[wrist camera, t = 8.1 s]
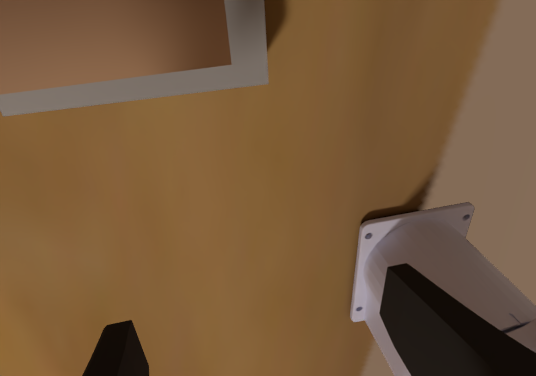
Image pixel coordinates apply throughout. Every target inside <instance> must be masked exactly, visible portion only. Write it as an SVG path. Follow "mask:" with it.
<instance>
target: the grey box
mask: <svg viewBox="0 0 536 376" xmlns="http://www.w3.org/2000/svg"><path fill="white" fill-rule="evenodd" d="M224 3H225V11H226V20H227V28H228V37H229V45H230V54H231V63H232V65H225V66H218V67H210V68H202V69H195V70H187V71H179V72H171V73H164V74H156V75H148V76H140V77H133V78H125V79H117V80H109V81H102V82H94V83H86V84H78V85H71V86H63V87H55V88H48V89H40V90H32V91H24V92H17V93H9V94H1V95H0V111H1V113H2V115H3V116H11V115H19V114H27V113H35V112H43V111H52V110H60V109H68V108H76V107H84V106H92V105H100V104H109V103H117V102H125V101H133V100H141V99H149V98H157V97H166V96H174V95H182V94H190V93H198V92H206V91H214V90H223V89H231V88H239V87H247V86H255V85H263V84H268V64H267V45H266V26H265V7H264V0H224Z"/></svg>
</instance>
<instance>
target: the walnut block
mask: <svg viewBox="0 0 536 376" xmlns="http://www.w3.org/2000/svg"><path fill="white" fill-rule="evenodd" d="M225 65H232V63H231V54H230V45H229V37H228V28H227V20H226V11H225V3H224V0H0V95H1V94H9V93H17V92H24V91H32V90H40V89H48V88H55V87H63V86H71V85H78V84H86V83H94V82H102V81H109V80H117V79H125V78H133V77H140V76H148V75H156V74H164V73H171V72H179V71H187V70H195V69H202V68H210V67H218V66H225Z"/></svg>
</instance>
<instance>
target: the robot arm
mask: <svg viewBox="0 0 536 376" xmlns="http://www.w3.org/2000/svg"><path fill="white" fill-rule="evenodd" d="M473 212H474V206H473V205H472V204H470V203H469V202H466V203H460V204H455V205H449V206H444V207H439V208H434V209H428V210H422V211H417V212H411V213H406V214H401V215H395V216H390V217H384V218H379V219H373V220H368V221H365V222H364V223H362V225H361V226H360V232H359V240H358V249H357V258H356V267H355V276H354V285H353V294H352V303H351V312H350V317H351V319H352V321H354V322H359V321H363V320H365V321H366V323H367V325H368V327H369V329H370V331H371V332H372V334H373V336H374V338H375V340H376V342H377V344H378V346H379V347H380V349H381V351H382V353H383V355H384V356H385V359H386V360H387V362H388V364H389V366H390V368H391V370H392V372H393V374H394V375H395V376H536V305H534V304H533V303H532V302H531V301H530V300H529V299H528V298H527V297H526V296H525V295H524V294H523V293H522V292H521V291H520V290H519V289H518V288H517V287H516V286H515V285H514V284H513V283H512V282H511V281H509V279H507V278H506V277H505V276H504V275H503V274H502V273H501V272H500V271H499V270H498V269H497V268H496V267H495V266H494V265H493V264H492V263H491V262H490V261H488V259H486V257H484V256H483V255H482V254H481V253H480V252H479V251H478V250H477V249H476V248H475V247H474V246H473V245H472V244H471V243H470V242H469V241H468V240H467V239H466V238H465V237H466V234H467V231H468V228H469V225H470V222H471V218H472V215H473ZM368 233H369V234H368ZM366 234H368V235H366ZM82 376H149V365H148V363H147V360H146V357H145V355H144V352H143V349H142V347H141V344H140V341H139V339H138V336H137V333H136V331H135V328H134V325H133V323H132V320H129V321H125V322H120V323H115V324H110V325H107V326H106V327H105V328H104V330H103V332H102V334H101V337H100V339H99V341H98V343H97V346H96V348H95V350H94V352H93V354H92V357H91V359H90V361H89V363H88V365H87V367H86V369H85V371H84V373H83V375H82Z"/></svg>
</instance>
